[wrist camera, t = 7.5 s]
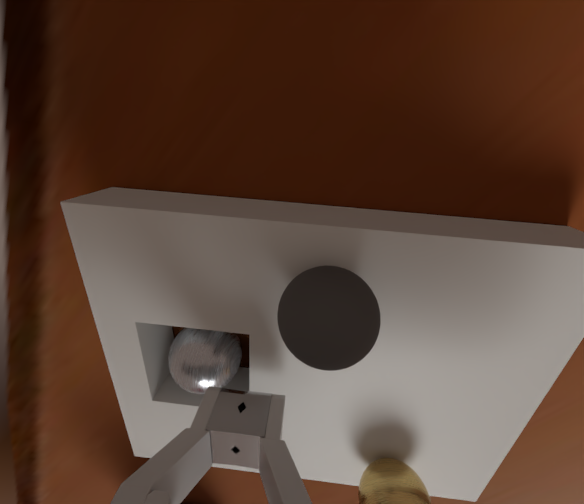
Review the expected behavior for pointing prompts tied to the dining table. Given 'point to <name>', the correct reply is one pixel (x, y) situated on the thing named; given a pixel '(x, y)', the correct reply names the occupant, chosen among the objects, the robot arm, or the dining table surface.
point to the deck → (387, 349)
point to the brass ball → (391, 484)
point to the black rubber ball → (328, 318)
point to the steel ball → (204, 359)
